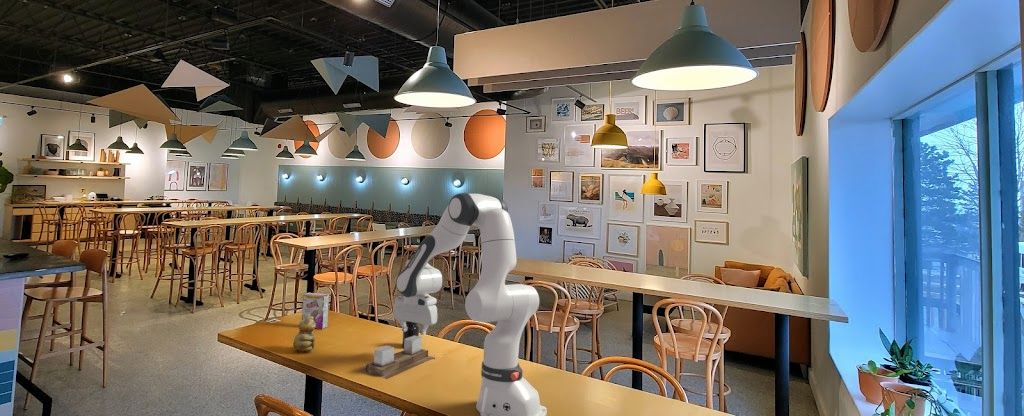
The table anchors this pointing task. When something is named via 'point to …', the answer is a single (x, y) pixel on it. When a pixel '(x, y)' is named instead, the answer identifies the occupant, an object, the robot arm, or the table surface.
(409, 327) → the supplement bottle
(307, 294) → the candy bar box
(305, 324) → the decorative figurine
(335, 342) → the table surface
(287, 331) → the table surface
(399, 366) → the brown wooden tray
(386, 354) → the block
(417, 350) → the block
